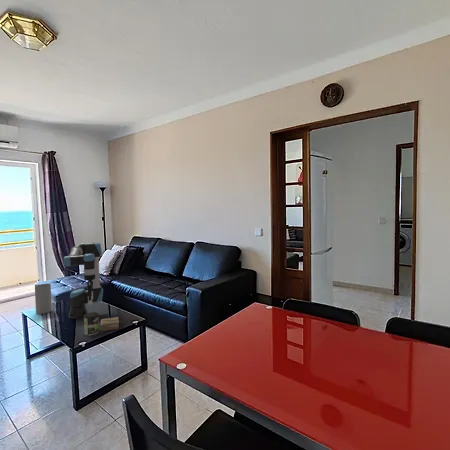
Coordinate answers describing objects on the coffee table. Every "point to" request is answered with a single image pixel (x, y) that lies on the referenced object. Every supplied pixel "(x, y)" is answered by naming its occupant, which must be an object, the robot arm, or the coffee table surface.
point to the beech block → (109, 324)
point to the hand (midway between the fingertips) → (90, 301)
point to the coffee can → (91, 323)
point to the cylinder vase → (43, 298)
